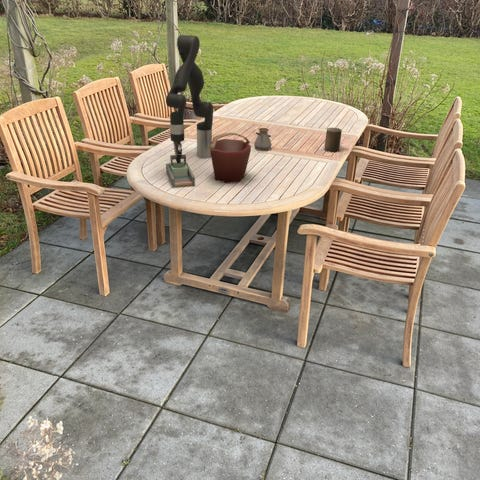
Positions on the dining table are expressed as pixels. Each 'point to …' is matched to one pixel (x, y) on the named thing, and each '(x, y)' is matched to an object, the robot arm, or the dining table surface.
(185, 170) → the box
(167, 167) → the bay
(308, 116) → the dining table surface
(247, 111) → the dining table surface
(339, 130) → the pillar candle
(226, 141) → the bucket
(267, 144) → the coffee pot
